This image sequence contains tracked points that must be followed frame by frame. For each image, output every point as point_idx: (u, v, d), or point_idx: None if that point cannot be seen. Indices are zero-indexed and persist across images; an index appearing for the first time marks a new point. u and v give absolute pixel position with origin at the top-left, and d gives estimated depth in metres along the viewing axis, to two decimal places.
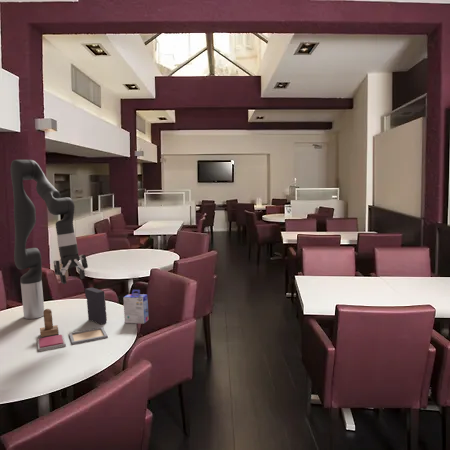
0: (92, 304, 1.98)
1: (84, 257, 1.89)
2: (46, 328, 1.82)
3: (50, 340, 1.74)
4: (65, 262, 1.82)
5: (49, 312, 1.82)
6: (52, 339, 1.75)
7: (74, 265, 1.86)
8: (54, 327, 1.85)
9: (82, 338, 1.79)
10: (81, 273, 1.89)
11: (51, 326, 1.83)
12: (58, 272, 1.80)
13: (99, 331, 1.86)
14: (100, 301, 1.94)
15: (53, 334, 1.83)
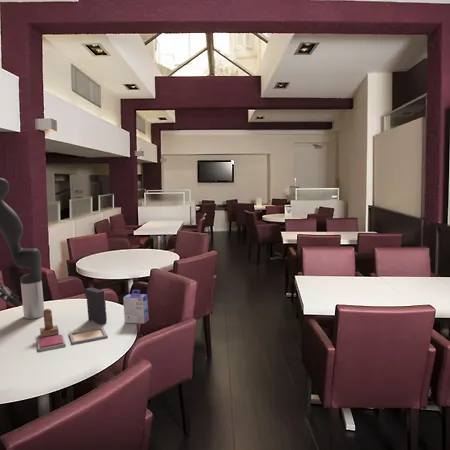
0: (92, 304, 1.98)
1: None
2: (46, 328, 1.82)
3: (50, 340, 1.74)
4: None
5: (49, 312, 1.82)
6: (52, 339, 1.75)
7: None
8: (54, 327, 1.85)
9: (82, 338, 1.79)
10: None
11: (51, 326, 1.83)
12: None
13: (99, 331, 1.86)
14: (100, 301, 1.94)
15: (53, 334, 1.83)
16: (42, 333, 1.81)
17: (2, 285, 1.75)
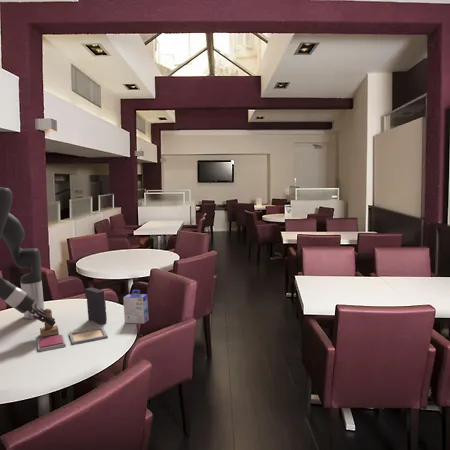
0: (92, 304, 1.98)
1: None
2: (46, 328, 1.82)
3: (50, 340, 1.74)
4: None
5: (49, 312, 1.82)
6: (52, 339, 1.75)
7: None
8: (54, 327, 1.85)
9: (82, 338, 1.79)
10: None
11: (51, 326, 1.83)
12: None
13: (99, 331, 1.86)
14: (100, 301, 1.94)
15: (53, 334, 1.83)
16: (42, 333, 1.81)
17: (36, 305, 1.82)
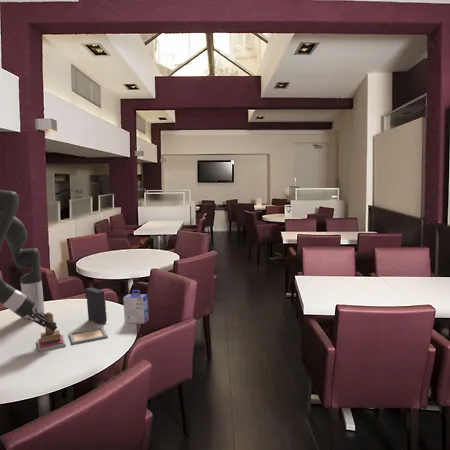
0: (92, 304, 1.98)
1: None
2: (47, 333, 1.72)
3: None
4: None
5: (50, 316, 1.72)
6: None
7: None
8: (55, 332, 1.75)
9: (82, 338, 1.79)
10: None
11: (52, 331, 1.73)
12: None
13: (99, 331, 1.86)
14: (100, 301, 1.94)
15: (54, 339, 1.72)
16: (43, 338, 1.71)
17: (36, 308, 1.72)
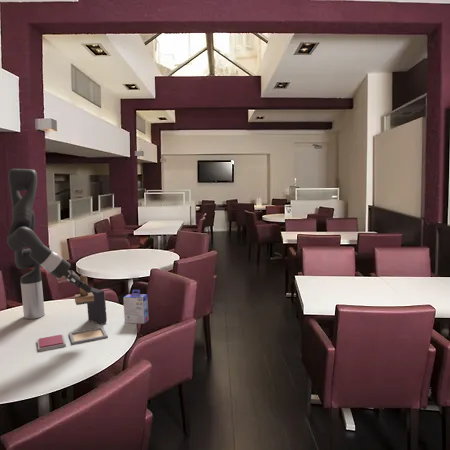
0: (92, 304, 1.98)
1: (71, 282, 1.71)
2: (81, 294, 1.77)
3: (50, 340, 1.74)
4: None
5: (85, 278, 1.77)
6: (52, 339, 1.75)
7: None
8: (89, 294, 1.80)
9: (82, 338, 1.79)
10: None
11: (86, 293, 1.78)
12: None
13: (99, 331, 1.86)
14: (100, 301, 1.94)
15: (89, 301, 1.78)
16: (78, 299, 1.76)
17: (71, 270, 1.77)
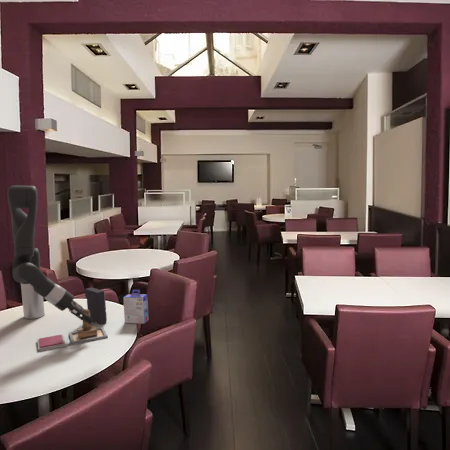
0: (92, 304, 1.98)
1: None
2: (85, 329, 1.79)
3: (50, 340, 1.74)
4: None
5: (88, 312, 1.79)
6: (52, 339, 1.75)
7: None
8: (92, 328, 1.82)
9: None
10: None
11: (89, 327, 1.80)
12: None
13: (99, 331, 1.86)
14: (100, 301, 1.94)
15: (92, 335, 1.80)
16: (81, 334, 1.78)
17: (75, 302, 1.79)
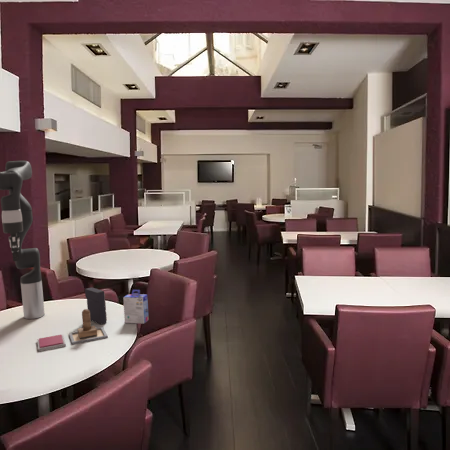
0: (92, 304, 1.98)
1: (10, 239, 1.74)
2: (85, 329, 1.79)
3: (50, 340, 1.74)
4: None
5: (88, 312, 1.79)
6: (52, 339, 1.75)
7: None
8: (92, 328, 1.82)
9: None
10: None
11: (89, 327, 1.80)
12: None
13: (99, 331, 1.86)
14: (100, 301, 1.94)
15: (92, 335, 1.80)
16: (81, 334, 1.78)
17: (18, 236, 1.82)
